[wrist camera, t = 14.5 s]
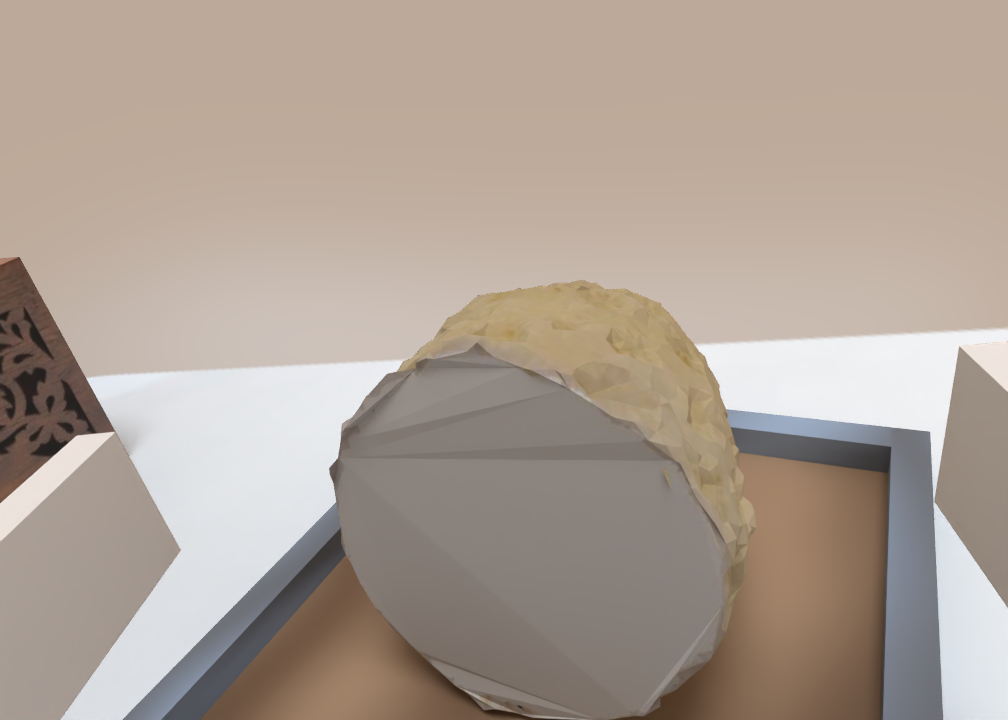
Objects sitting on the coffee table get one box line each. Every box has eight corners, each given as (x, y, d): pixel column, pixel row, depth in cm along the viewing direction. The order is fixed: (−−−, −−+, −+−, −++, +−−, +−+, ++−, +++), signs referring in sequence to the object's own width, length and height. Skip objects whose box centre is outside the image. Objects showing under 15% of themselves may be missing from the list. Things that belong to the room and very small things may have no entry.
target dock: (116, 787, 16) (89, 752, 16) (463, 407, 29) (456, 379, 28) (951, 1330, 8) (969, 1304, 7) (924, 468, 21) (930, 431, 20)
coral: (135, 555, 12) (364, 190, 17) (414, 694, 19) (519, 405, 24) (632, 699, 7) (749, 126, 12) (763, 814, 14) (803, 420, 19)
